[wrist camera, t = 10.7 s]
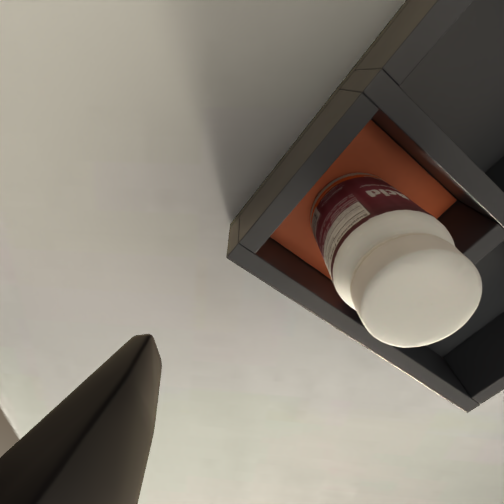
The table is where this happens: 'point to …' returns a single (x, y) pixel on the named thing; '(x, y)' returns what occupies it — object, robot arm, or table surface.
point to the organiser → (403, 180)
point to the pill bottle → (393, 262)
